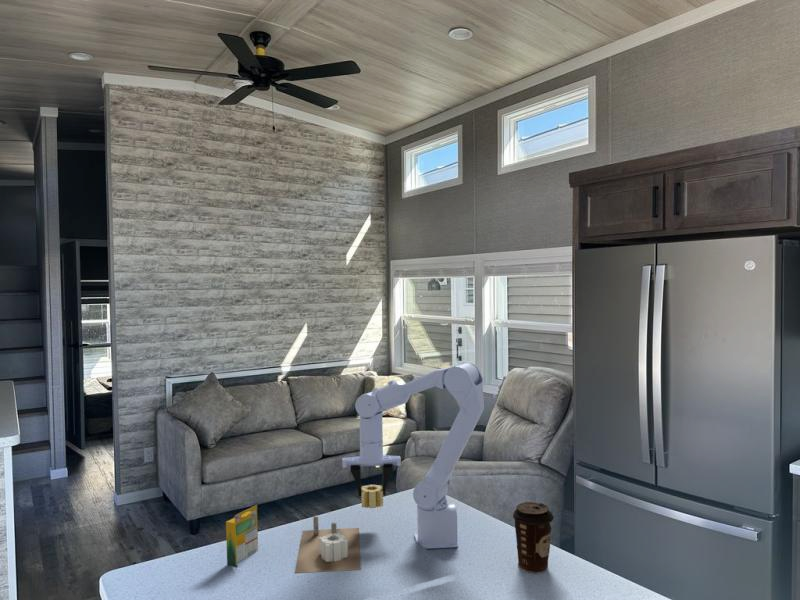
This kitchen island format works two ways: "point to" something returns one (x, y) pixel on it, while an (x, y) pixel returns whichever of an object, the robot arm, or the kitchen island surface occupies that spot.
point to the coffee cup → (533, 536)
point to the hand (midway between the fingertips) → (372, 494)
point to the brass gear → (372, 496)
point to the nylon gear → (333, 547)
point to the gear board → (312, 559)
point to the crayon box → (242, 536)
